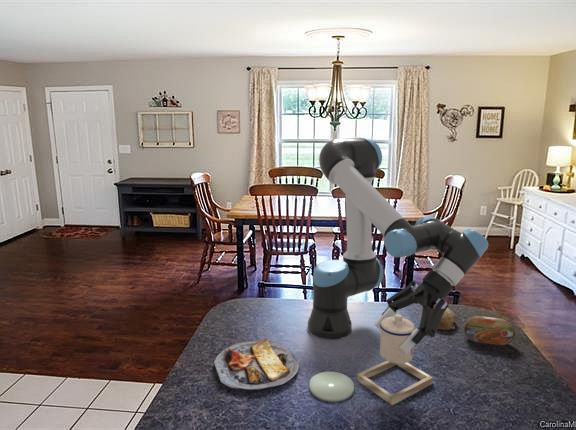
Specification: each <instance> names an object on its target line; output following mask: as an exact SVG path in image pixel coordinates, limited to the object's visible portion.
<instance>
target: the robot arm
mask: <svg viewBox="0 0 576 430" xmlns="http://www.w3.org/2000/svg"><path fill="white" fill-rule="evenodd" d="M318 157H319V158H318V162H319V163H318V164H319V167H320V170H321V172H322V174H323V175H324V177H325V178H326V179H327V181H329V182H330V183H331V184H332V185H336V186H338V187H339V189H341V191H342V192H343V193H344V194H345V212H346V214H345V216H346V219H345V220H346V251H344V253H343V254H342V260H341V259H332V260H331V259H327V260H324V261H322V262H318V264H316V266H315V267H314V269H313V277H312V281H313V282H312V283H313V284H312V285H313V286H312V295H313V296H312V297H313V298H312V299H313V300H312V309H311V312H310V316H309V318H308V320H307V329H308V330H309V331H308V330H307V331H308V332H309V333H310V334H311V333H312V335H313V336H314V335H315V337H317V338H319V339H320V338H321V339H325V340H338V339H342V337H343V338H345V337H347V336H349V335H350V334H351V332H352V325H353V323H352V320H351V317H350V314H349V310H348V298H350V297H353V296H355V295H358V294H362V293H365V292H369V291H372V290H374V289H375V288H377V287H378V286H379V285H380V284H382V281H383V278H384V267H383V265H382V264H381V263H382V262H381V261H380V260H379V259H378V258H377V253H375V251H373V249H372V248H373V247H372V246H373V244H372V243H373V242H372V241H373V240H372V239H373V238H372V237H373V236H372V235H373V234H372V225H373V226H374V227H375V228H376V229H377V230H378V232H380V233H381V235H382V236H383V238H384V242H383V243H384V247H385V249H386V250H385V251H386V252H387V253H388V254H389V255H390V256H391V257H394V258H404V257H410V256H412V255H415V254H419V253H422V252H427V251H430V250H433V249H434V250H436V251H437V252H439V253H441V254H443V255H442V256H441V257H440V258H439V259H438V261H437V262H436V263H435V264H434V265H433V266H432V269H431V270H429V271H428V272H427V273H426V274H425V276H424V277H422V283H421V284H417V282H416V281H414V280H411V282H409V284H408V285H407V286H405V287H404V288H402V289H401V290H399V291H397V292H396V293H395V294H393V295H391V296H390V297H389V298H387V299H386V301H385V302H386V303H387V305H388V306H387V307H386V309H385V310H384V311H383V312H382V313H381V316H380V317H379V318H378V319H377V320H376V321H375V323H374V325H373V326H375V327H376V328H377V329H379V331H381V327H380V324H381V322H382V320H383V319H385V318H388V317H395V315H396V314H398V313H397V311H399V310H402V309H405V308H406V307H409V306H411V305H414V304H415V305H416V304H418V305H420V306H422V312H421V316H420V323H419V326H418V327H416V329H415V330H414V331H413V332H412V333H411V334H410V335H409V337H408V338H407V339H406V340H405V341H404V342H403V344H402V345H401V346H400V348H401V349H402V350H403V351H404V352H405V353H406V354H407V353H408V352H409V351H410V350H411V349H412V348H413V349H414V347H415V346H417V345H418V344H420V343H421V341H422V340H423V339H424V337H426V336H429V337H430V338H434V337H435V335H436V333H437V331H438V329H437V328H438V326H439V323H440V321H441V318H442V316H443V313H444V311H445V310H446V309H447V308H449V304H448V302H447V301H446V300H445V299H444V298H446V297H447V296H448V295H449V294H450V293H451V292H452V290H453V287H455V286H457V284H458V283H459V282H460V281H461V280H462V279H463V278H464V276H465V275H466V274H467V273H468V272H469V271H470V270H471V269H472V267H473V266H474V265H475V264H476V263H477V262H478V261H479V260H480V259H481V258H482V256H483V254H484V253H485V252H486V251H487V250H488V247H489V241H488V240H487V238H486V237H485V236H484V235H483V234H481V233H480V232H479V231H478V230H475V229H473V228H466V229H465V230H463V231H462V232H461V231H458V230H457V229H454V228H453V227H451V226H449V225H448V224H447V223H444V222H443V221H441V220H440V219H438V218H435V217H433V216H431V215H428V214H427V215H423V216H422V217H421V218H419V219H418V220H417V221H416V222H415V224H414V225H411V224H410V223H409V221H408V220H407V219H406V218H405V217H403V215H402V214H401V213H400V212H399V211H397V209H396V208H395V207H394V206H393V205H392V204H391V203H390V202H389V201H388V200H387V199H386V198H385V197H384V196H383V195H382V194H381V193H380V192H379V191H378V190H377V189H376V188H375V187H374V186H373V185H372V182H373V181H374V179H375V178H376V171H377V170H378V169H379V168H380V166H381V165H382V161H383V153H382V149H381V147H380V146H379V144H378V143H377V142H376V141H375V140H374V139H372V138H368V137H360V136H359V137H350V138H349V137H348V138H335V139H331V140H330V141H328V142H327V143H325V144H324V145H323V147H322V148H321V150H320V153H319V156H318ZM413 346H414V347H413Z"/></svg>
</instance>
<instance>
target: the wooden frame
mask: <svg viewBox="0 0 576 430" xmlns="http://www.w3.org/2000/svg"><path fill="white" fill-rule="evenodd" d="M396 366H398V367H400V368H401V369H403V370H404V371H406V372H407V373H409V374H411V375H413V376H414V377H416V378H418V379H419V381H416V382H415V383H413V384H411V385H409V386H407V387H405V388H403V389H401V390H400V391H397V392H395V393H394V394H391V393H390V392H388V391H387V390H386V389H384V388H383V387H381V386H380V385H379V384H378V383H376V382H374V381H373V380H372V379H370V378H371V377H374V376H376V375H379V374H381V373H382V372H384V371H387V370H389V369H390V368H393V367H396ZM356 381H357V382H359V383H360V384H362V385H363V386H364V387H366V388H367V389H368V390H370V391H372V393H374V394H376V395H377V396H378V397H380V398H381V399H382V400H384V401H385V402H387V403H388V404H389V405H391V406H394V405H396V404H397V403H400V402H401V401H403V400H406V399H407V398H409V397H411V396H413V395H414V394H416V393H418V392H420V391H421V390H423V389H425V388H427V387H429V386H432V385H433V381H434V376H431V375H430V374H428V373H427V372H424V371H423V370H421V369H420V368H418V367H415V366H414V365H413V364H411V363H409V362H407V363H403V364H397V363H391V362H389V361H386V360H385V361H383V362H380V363H378V364H376V365H375V366H372V367H370V368H368V369H365V370H363V371H361V372H359V373H357V374H356Z"/></svg>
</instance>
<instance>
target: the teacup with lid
mask: <svg viewBox="0 0 576 430" xmlns="http://www.w3.org/2000/svg"><path fill="white" fill-rule="evenodd" d="M380 327H381V330H380V342H379V343H380V344H379V355H380V357H381V358H382V359H383V360H385V361H389V362H391V363H397V364H403V363H409V362H410V361H412V360H413V358H414V357H413V356H414V347H415V345H414V346H413V348H412V349H411V350H410V351H409V352H408V353H407V354H406V353H405V352H404V351H403V350H402V349H401V348H400V346H401V345H402V344H403V342H404V341H405V340H406V339H407V338H408V337H409V335H410V334H411V333H412V332H413V331H414V330H415V329H416V328H417V327H416V325H415V323H414V322H413V321H412V320H410V319H408V318H405V317H403V315H402V314H400V313H396V314H395V316H394V317H388V318H385V319H383V320H382V322H381V324H380Z"/></svg>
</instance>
